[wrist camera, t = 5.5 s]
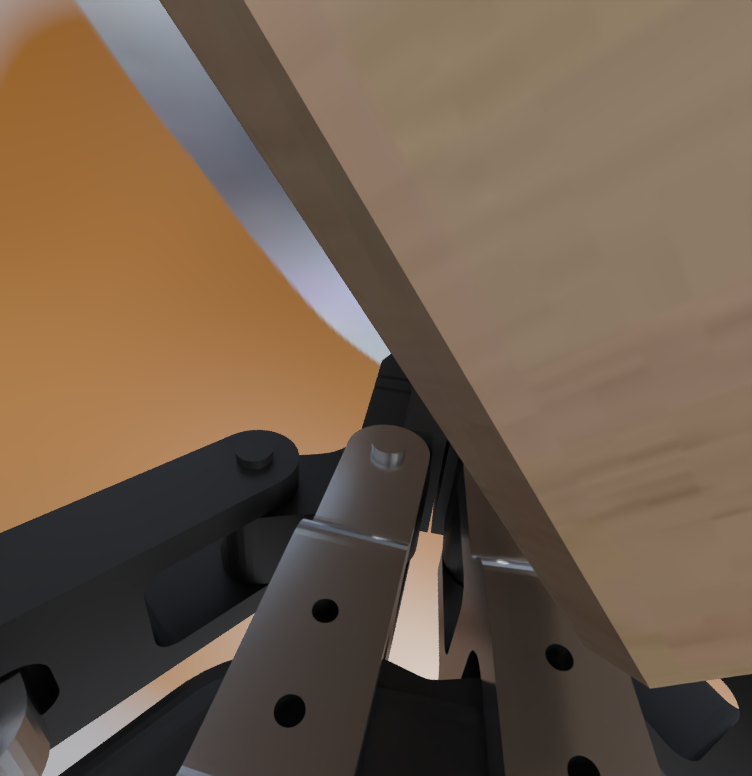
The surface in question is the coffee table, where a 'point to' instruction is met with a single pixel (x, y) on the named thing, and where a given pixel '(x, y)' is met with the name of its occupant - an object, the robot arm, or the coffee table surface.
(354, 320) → the coffee table surface
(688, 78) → the decorative block
